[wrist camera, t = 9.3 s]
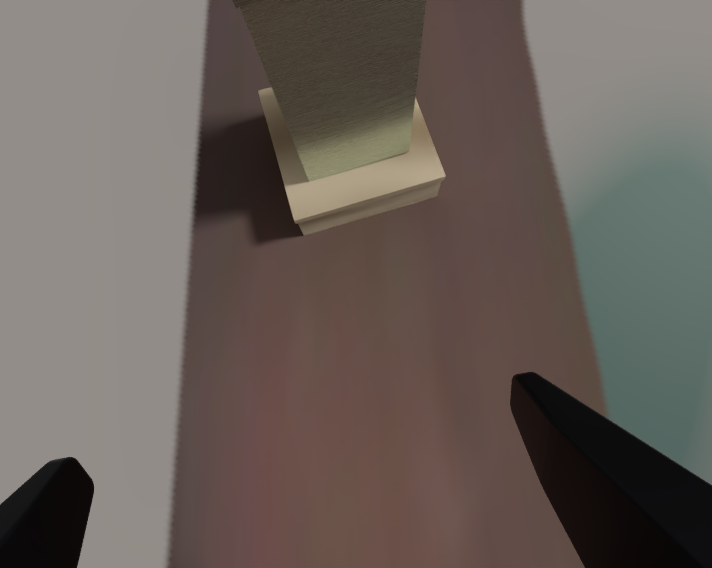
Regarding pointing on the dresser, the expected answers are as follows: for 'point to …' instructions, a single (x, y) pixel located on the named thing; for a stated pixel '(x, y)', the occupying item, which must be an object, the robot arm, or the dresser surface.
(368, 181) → the jewelry box
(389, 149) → the green lidded box
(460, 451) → the dresser surface
